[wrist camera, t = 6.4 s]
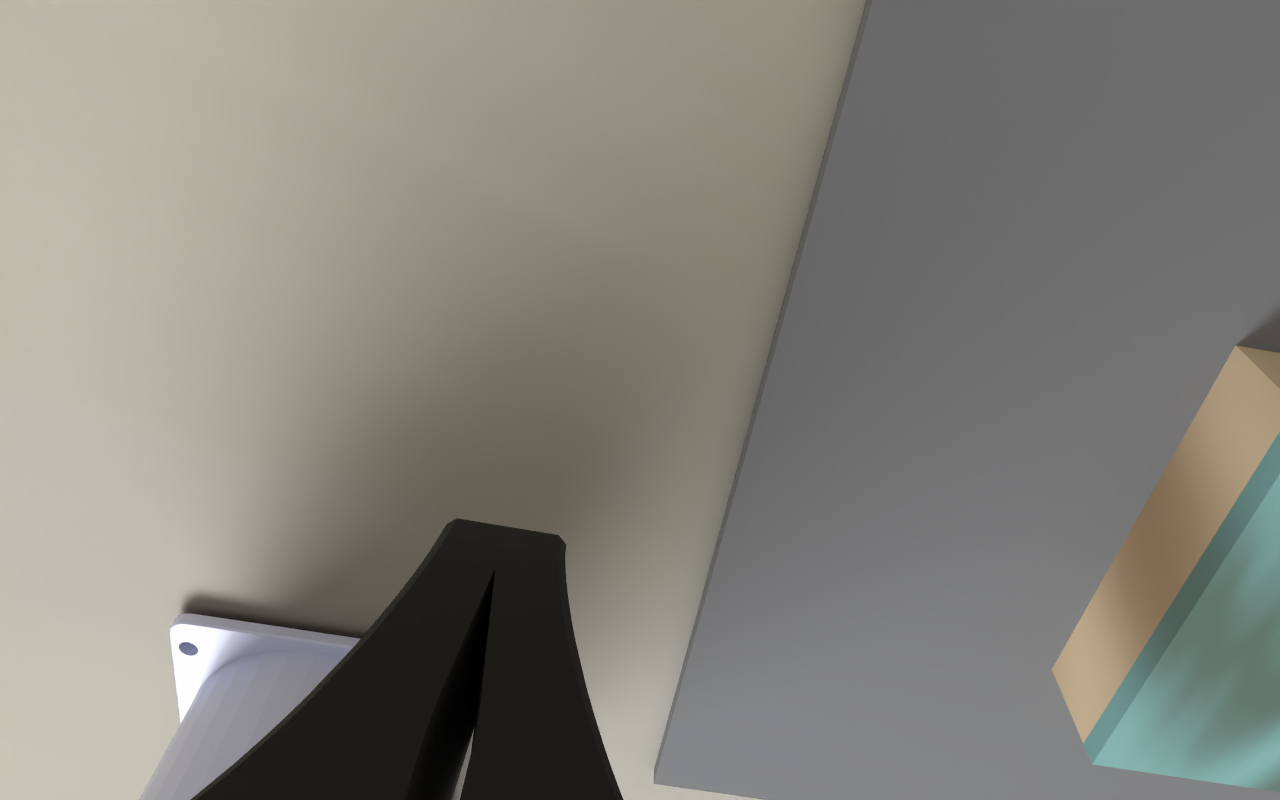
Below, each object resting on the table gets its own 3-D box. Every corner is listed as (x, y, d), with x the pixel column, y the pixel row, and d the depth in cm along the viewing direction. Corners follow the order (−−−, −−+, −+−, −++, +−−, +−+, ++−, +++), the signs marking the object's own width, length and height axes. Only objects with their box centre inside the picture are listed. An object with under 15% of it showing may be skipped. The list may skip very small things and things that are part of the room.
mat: (1278, 859, 31) (1287, 874, 30) (654, 769, 29) (653, 783, 29) (1944, 99, 18) (1975, 106, 18) (897, -108, 17) (902, -106, 16)
